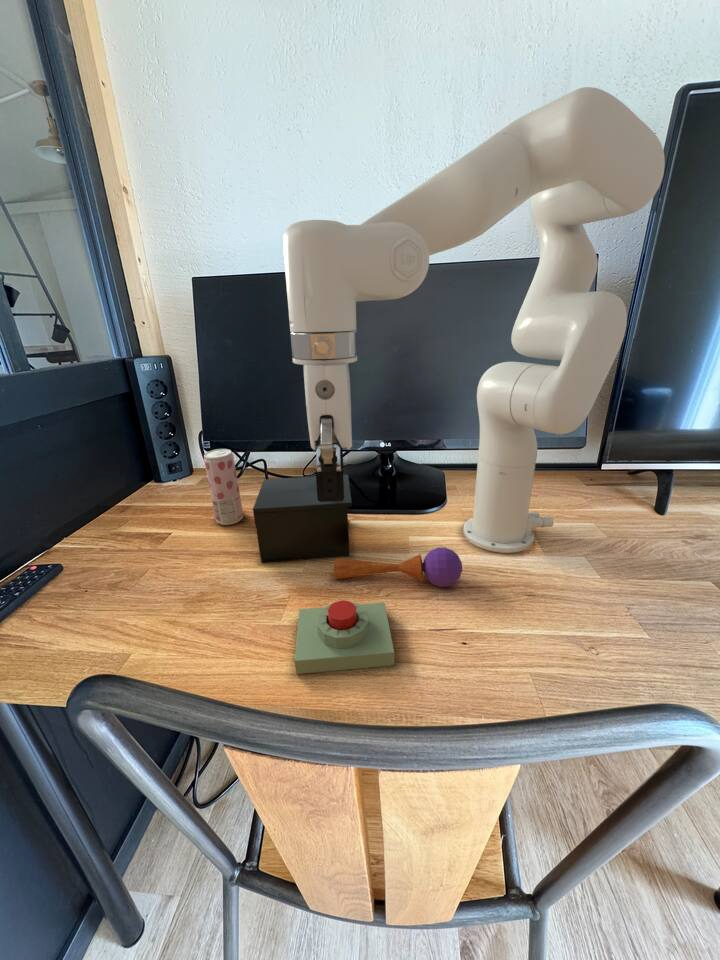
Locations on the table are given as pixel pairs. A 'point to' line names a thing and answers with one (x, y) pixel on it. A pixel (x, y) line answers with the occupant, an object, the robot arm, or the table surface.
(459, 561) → the kendama
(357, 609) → the control block
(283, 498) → the lid
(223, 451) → the beverage can
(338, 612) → the button
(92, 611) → the table surface
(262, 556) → the black box
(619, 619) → the table surface
